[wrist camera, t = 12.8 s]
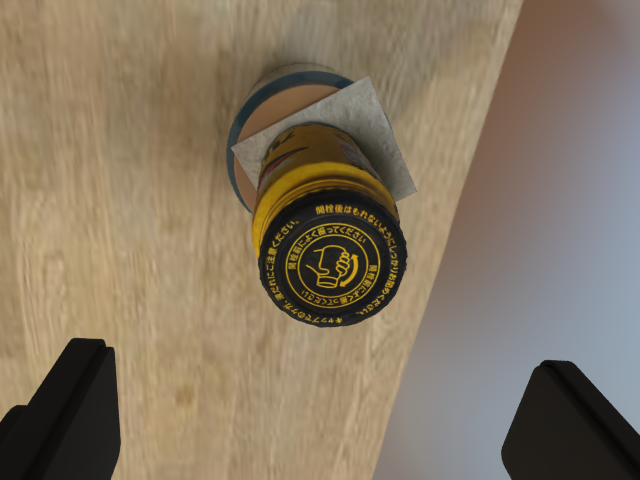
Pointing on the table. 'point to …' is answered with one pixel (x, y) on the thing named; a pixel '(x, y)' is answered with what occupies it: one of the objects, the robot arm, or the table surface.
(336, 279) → the yellow coffee bottle
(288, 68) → the blue jar
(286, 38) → the table surface
